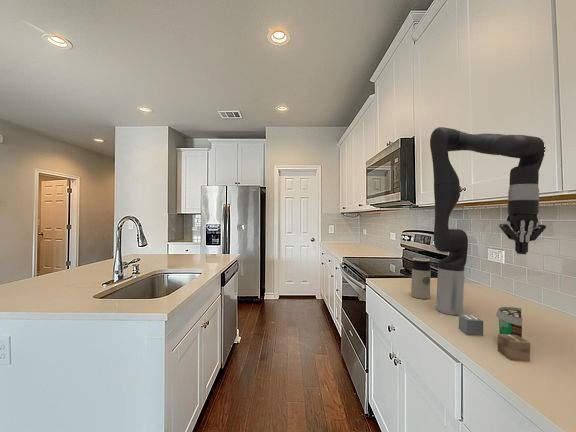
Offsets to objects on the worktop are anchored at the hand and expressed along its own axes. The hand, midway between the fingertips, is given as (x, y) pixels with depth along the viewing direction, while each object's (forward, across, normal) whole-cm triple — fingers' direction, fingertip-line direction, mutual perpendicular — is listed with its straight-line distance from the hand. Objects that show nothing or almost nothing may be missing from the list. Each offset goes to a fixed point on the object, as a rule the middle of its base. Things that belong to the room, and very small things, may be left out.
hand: (521, 253), depth 88 cm
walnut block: (+27, +10, +12) cm, 31 cm away
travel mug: (+27, +14, -42) cm, 52 cm away
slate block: (+27, +13, -3) cm, 30 cm away
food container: (+27, +6, +4) cm, 28 cm away
